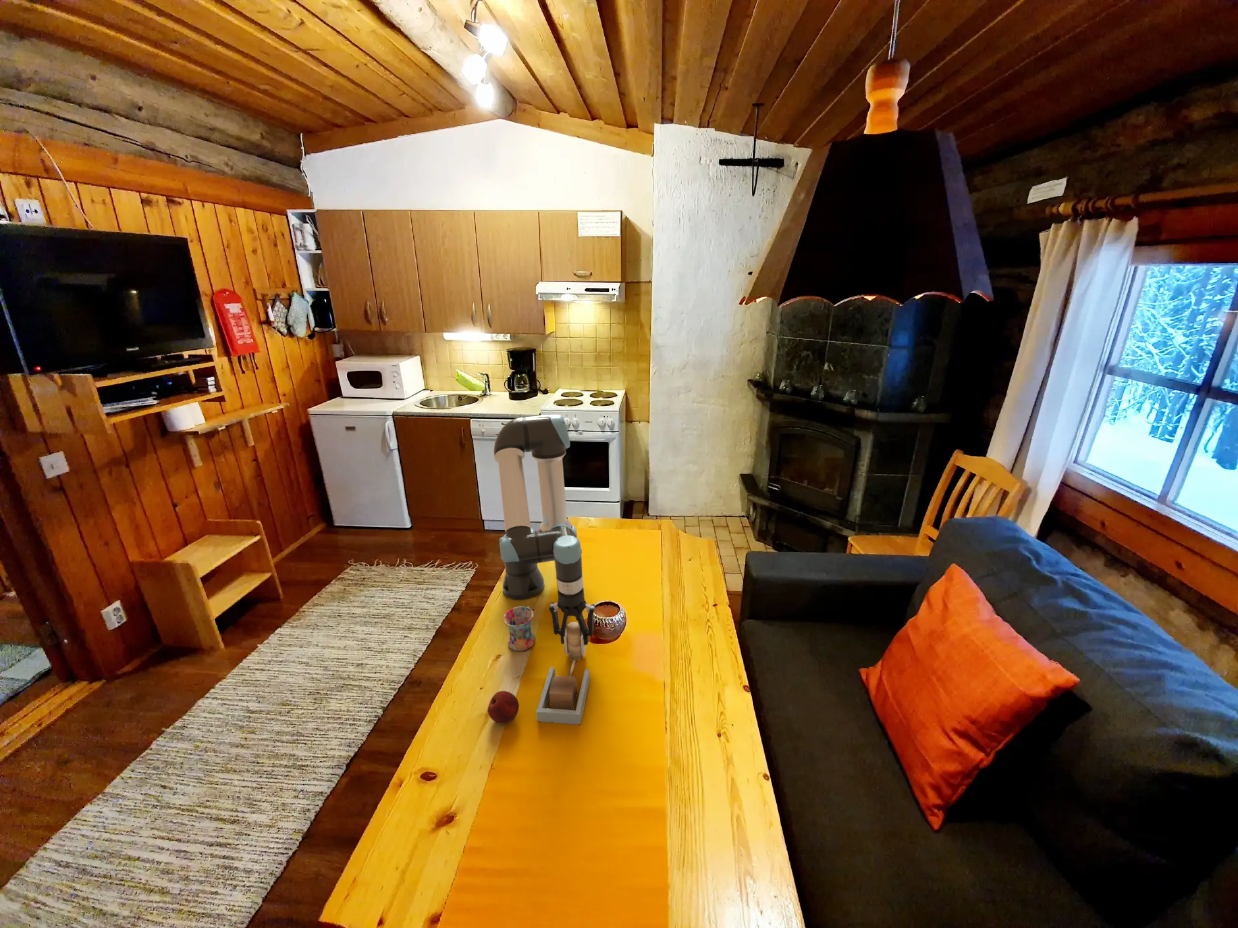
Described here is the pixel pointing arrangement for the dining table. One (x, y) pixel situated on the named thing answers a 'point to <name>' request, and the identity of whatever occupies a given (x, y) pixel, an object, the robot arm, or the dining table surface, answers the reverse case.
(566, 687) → the tethered block
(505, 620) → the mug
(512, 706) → the apple
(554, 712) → the grey u-shaped frame
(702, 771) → the dining table surface
